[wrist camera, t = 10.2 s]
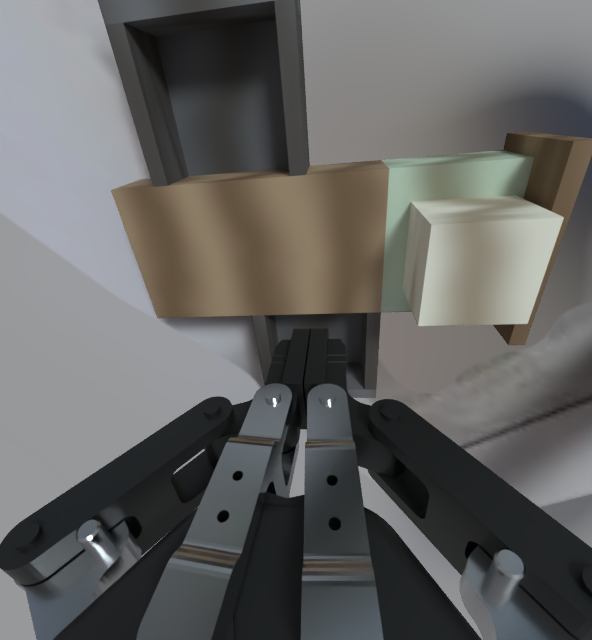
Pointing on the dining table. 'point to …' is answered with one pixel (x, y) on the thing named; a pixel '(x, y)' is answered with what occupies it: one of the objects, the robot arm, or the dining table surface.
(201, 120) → the box
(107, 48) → the dining table surface
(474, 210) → the block
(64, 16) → the dining table surface
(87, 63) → the dining table surface
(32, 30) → the dining table surface
